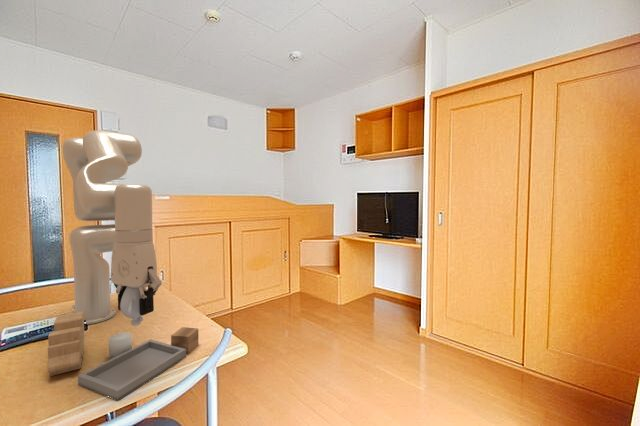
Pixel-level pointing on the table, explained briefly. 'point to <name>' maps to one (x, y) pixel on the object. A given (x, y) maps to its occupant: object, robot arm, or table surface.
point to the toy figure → (131, 305)
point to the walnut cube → (185, 339)
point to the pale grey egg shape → (119, 344)
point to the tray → (131, 369)
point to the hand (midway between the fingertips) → (135, 310)
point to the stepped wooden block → (66, 344)
